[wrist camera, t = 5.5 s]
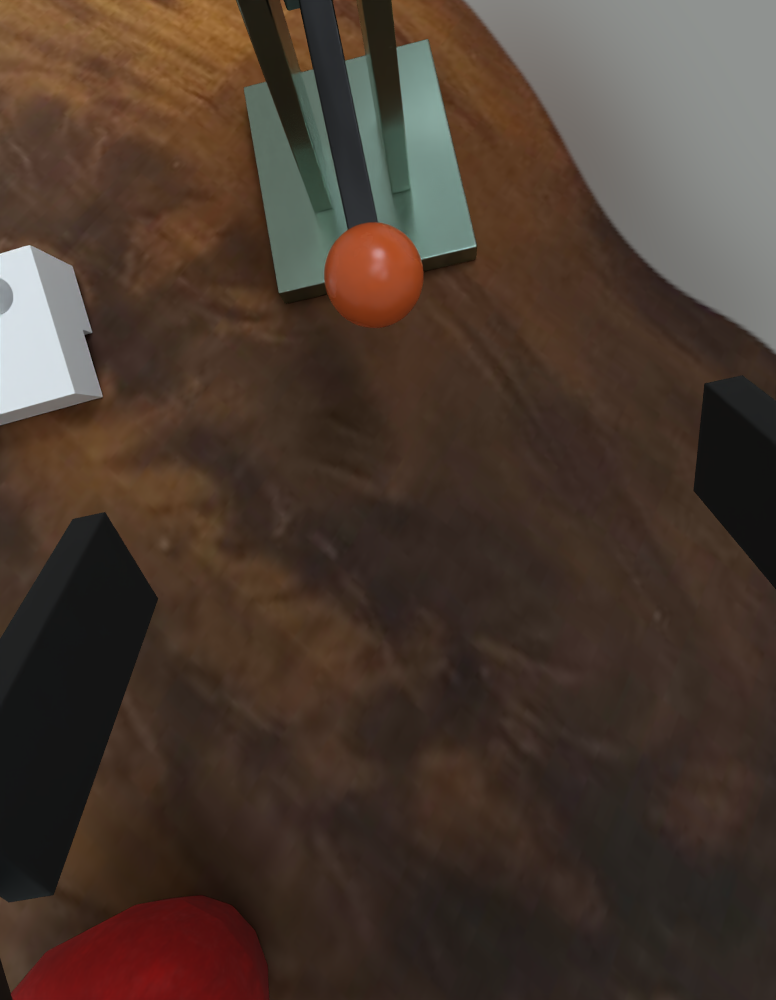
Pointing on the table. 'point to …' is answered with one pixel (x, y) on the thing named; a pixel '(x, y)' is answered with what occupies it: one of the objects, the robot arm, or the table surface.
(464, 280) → the table surface
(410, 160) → the clamp
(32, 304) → the bracket
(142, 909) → the apple
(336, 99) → the clamp lever
